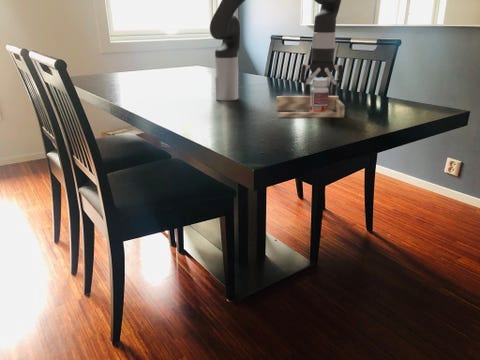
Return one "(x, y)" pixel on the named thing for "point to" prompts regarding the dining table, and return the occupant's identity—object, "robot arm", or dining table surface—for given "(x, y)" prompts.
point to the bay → (308, 107)
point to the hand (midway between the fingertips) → (319, 95)
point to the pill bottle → (319, 96)
